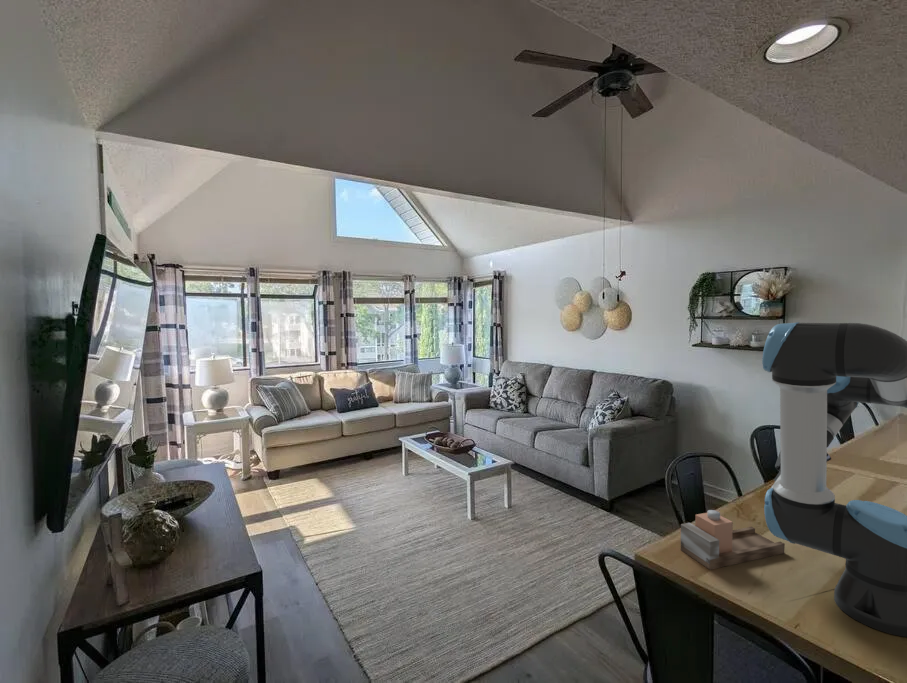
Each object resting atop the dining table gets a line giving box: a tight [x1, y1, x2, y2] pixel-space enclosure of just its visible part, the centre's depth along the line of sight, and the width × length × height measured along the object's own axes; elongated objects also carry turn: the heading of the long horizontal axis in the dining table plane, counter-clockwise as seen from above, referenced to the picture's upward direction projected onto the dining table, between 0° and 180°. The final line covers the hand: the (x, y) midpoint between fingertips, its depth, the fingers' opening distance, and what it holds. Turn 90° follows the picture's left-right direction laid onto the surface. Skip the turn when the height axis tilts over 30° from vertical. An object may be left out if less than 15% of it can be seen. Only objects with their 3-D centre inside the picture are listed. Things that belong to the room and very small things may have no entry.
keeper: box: [694, 509, 734, 554], centre depth 120 cm, size 6×6×11 cm
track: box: [680, 522, 786, 570], centre depth 122 cm, size 25×10×8 cm, turn 105°
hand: (774, 493), depth 126 cm, fingers closed
